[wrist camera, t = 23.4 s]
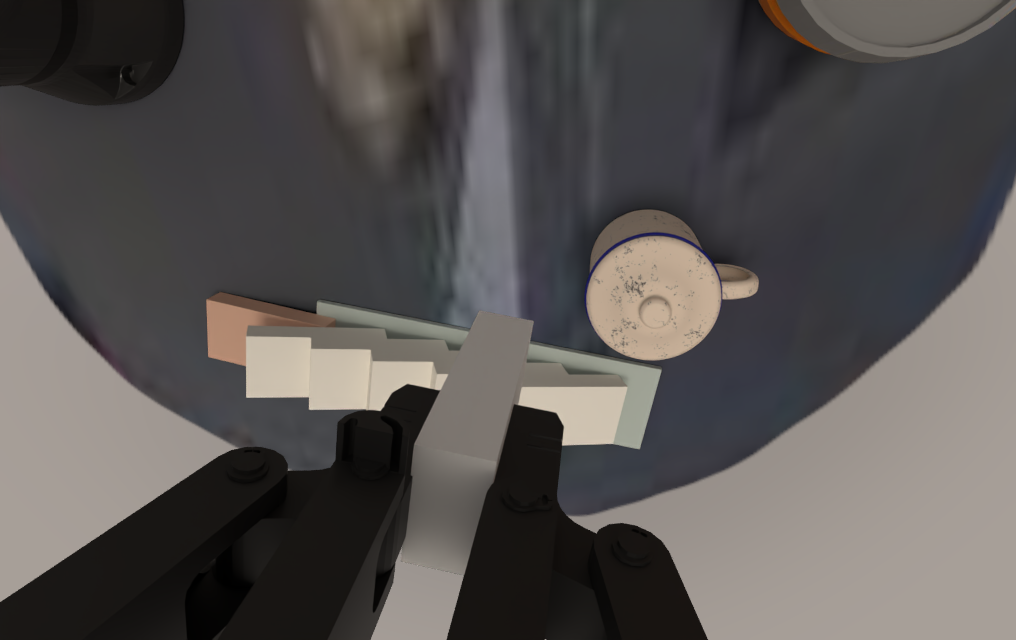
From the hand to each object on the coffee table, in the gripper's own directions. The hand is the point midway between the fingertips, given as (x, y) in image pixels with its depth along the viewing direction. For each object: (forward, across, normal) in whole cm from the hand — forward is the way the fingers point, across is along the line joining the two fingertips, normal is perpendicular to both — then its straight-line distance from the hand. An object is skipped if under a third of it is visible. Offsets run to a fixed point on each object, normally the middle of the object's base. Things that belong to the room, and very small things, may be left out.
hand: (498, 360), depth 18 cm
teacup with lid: (+35, +9, -6) cm, 36 cm away
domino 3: (+33, -7, -19) cm, 39 cm away
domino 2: (+33, -12, -19) cm, 40 cm away
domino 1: (+33, -17, -19) cm, 42 cm away
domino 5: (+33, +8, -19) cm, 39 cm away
